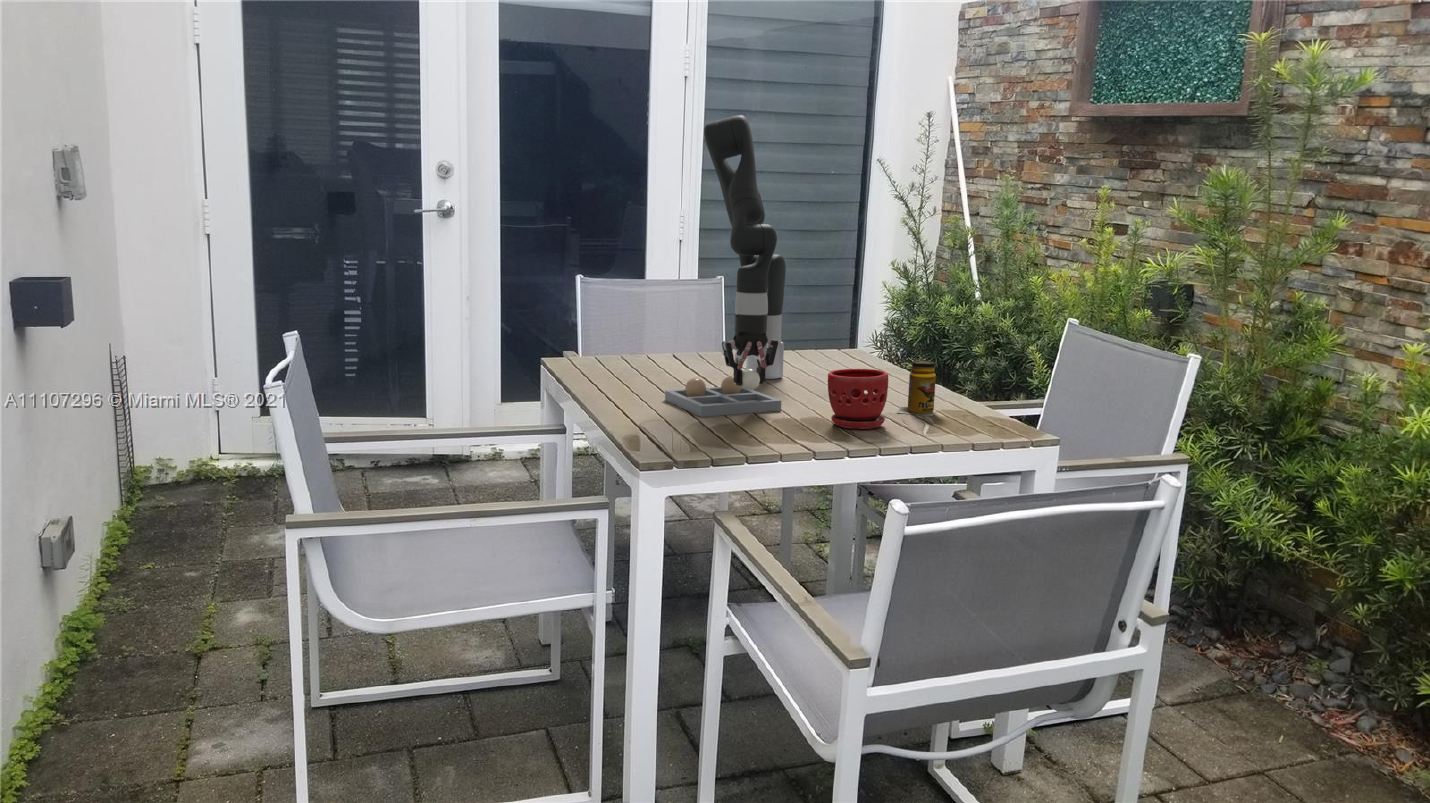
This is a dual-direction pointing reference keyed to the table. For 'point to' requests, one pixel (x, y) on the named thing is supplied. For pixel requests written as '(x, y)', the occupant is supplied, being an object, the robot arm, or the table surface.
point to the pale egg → (750, 379)
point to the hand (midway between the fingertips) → (749, 384)
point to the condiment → (921, 389)
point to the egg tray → (723, 402)
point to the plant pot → (858, 397)
